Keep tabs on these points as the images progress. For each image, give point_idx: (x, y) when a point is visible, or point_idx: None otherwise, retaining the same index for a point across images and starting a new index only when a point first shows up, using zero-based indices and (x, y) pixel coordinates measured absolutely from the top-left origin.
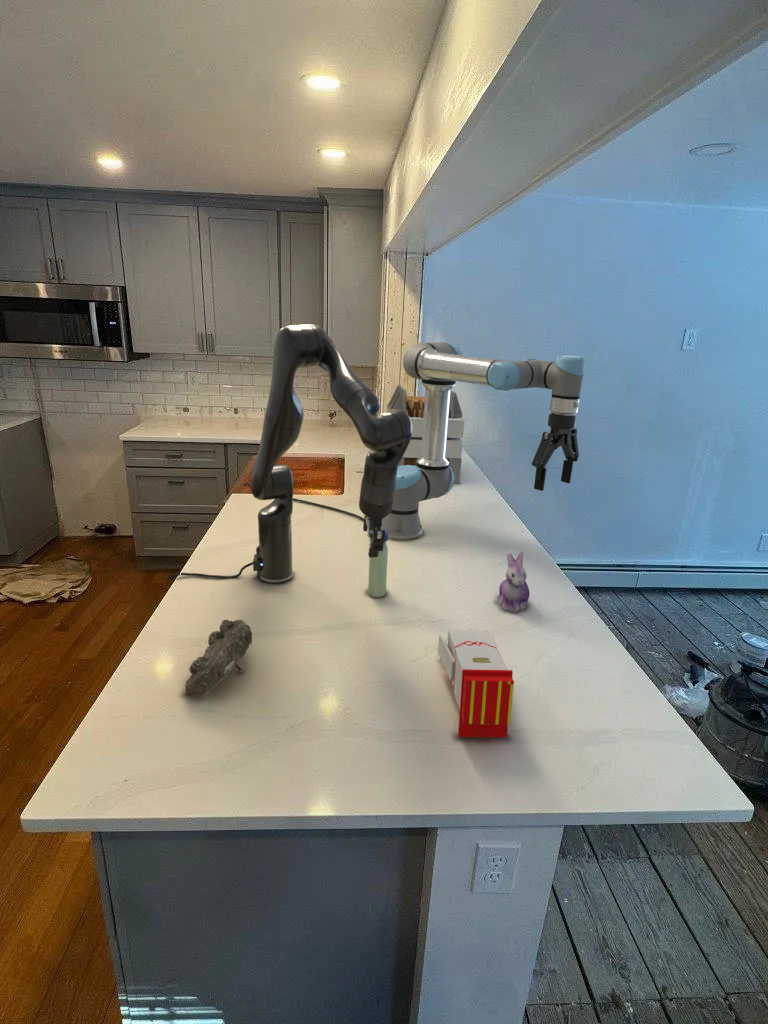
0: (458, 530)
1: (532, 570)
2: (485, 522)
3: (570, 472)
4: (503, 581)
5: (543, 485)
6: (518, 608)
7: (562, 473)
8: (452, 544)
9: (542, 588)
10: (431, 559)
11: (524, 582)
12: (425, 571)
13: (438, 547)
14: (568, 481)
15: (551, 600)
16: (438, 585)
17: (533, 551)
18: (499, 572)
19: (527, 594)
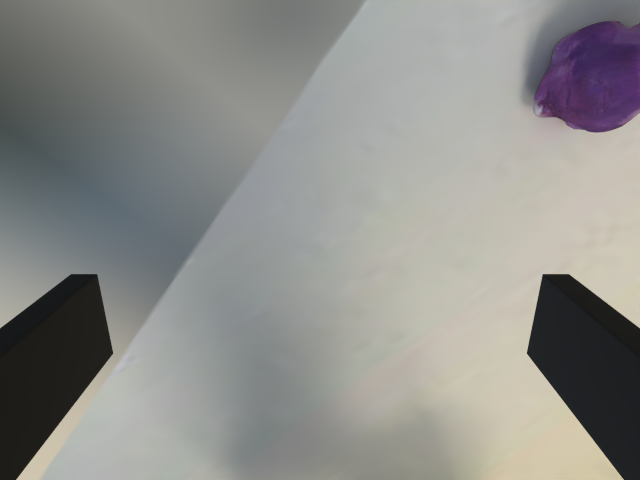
0: (275, 470)
1: (325, 181)
2: (156, 468)
3: (14, 340)
4: (626, 120)
5: (587, 299)
6: (629, 26)
7: (67, 403)
8: (370, 421)
9: (415, 78)
10: (500, 390)
11: (622, 46)
12: None
13: (419, 428)
14: (86, 286)
15: (472, 2)
16: (629, 279)
17: (198, 266)
18: (423, 233)
19: (612, 21)
